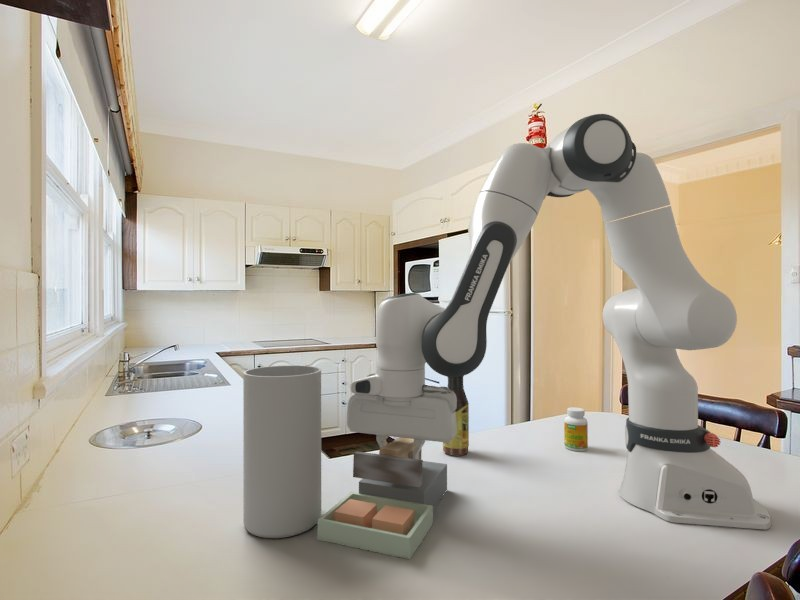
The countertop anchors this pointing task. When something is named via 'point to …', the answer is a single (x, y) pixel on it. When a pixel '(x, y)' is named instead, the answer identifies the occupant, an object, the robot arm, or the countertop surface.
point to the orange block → (356, 513)
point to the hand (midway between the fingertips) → (400, 460)
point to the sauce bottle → (459, 419)
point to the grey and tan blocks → (390, 464)
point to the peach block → (394, 520)
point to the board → (426, 494)
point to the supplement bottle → (576, 430)
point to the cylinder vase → (281, 450)
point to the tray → (373, 537)
